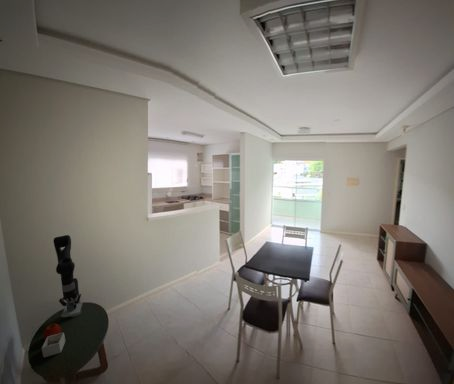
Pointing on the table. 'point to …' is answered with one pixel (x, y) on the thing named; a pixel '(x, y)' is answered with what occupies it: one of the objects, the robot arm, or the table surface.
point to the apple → (52, 330)
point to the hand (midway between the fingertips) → (72, 309)
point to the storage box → (53, 344)
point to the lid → (71, 309)
